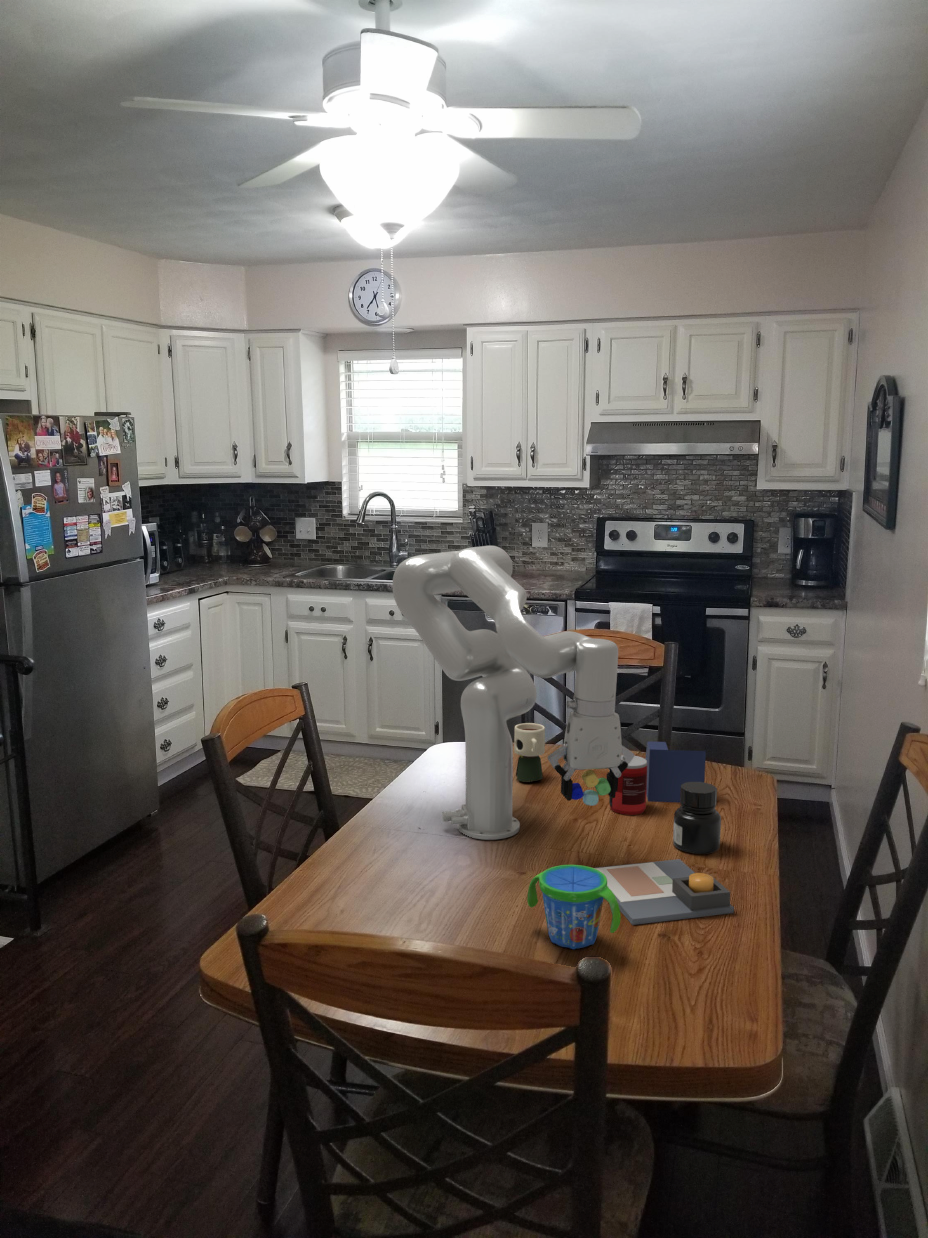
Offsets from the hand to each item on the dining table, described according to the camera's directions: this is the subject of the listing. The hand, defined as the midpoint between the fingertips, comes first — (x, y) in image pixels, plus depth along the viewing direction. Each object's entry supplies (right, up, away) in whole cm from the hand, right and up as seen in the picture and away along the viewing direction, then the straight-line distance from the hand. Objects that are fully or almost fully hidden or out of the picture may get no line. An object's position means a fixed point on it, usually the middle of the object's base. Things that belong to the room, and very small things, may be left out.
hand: (588, 796), depth 177 cm
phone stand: (+24, -7, +37) cm, 45 cm away
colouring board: (+10, -14, -13) cm, 22 cm away
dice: (0, -2, 0) cm, 2 cm away
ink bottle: (+22, -11, +7) cm, 26 cm away
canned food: (+12, -8, +27) cm, 31 cm away
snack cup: (-6, -17, -29) cm, 34 cm away
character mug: (-8, -5, +46) cm, 47 cm away
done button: (+17, -13, -18) cm, 27 cm away
